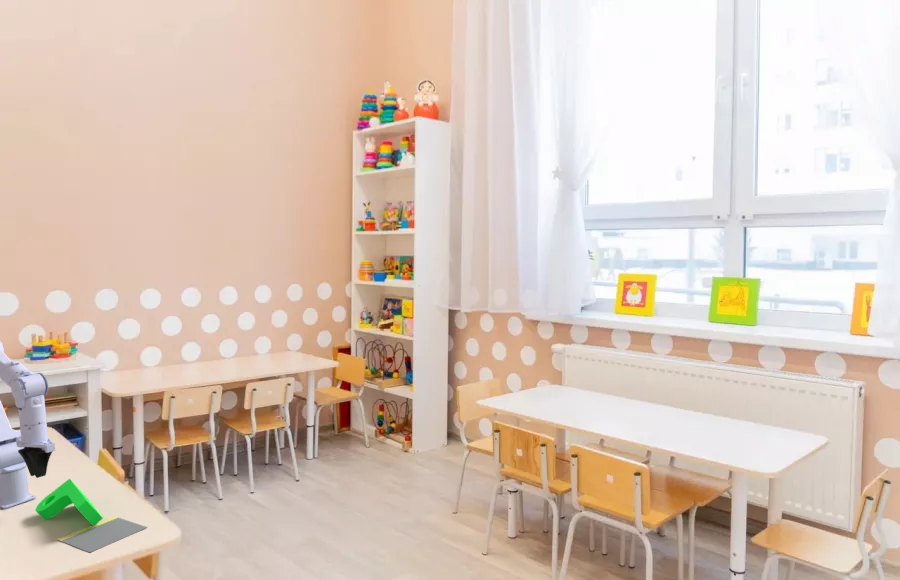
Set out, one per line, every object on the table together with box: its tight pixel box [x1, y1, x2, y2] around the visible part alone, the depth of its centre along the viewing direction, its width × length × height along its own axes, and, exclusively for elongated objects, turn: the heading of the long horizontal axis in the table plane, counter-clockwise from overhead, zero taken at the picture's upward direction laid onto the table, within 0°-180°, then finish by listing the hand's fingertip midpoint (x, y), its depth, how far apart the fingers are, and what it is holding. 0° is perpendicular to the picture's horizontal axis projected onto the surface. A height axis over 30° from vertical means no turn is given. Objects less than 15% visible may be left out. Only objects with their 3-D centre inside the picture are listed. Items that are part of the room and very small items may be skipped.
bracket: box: [35, 478, 104, 526], centre depth 167 cm, size 20×10×7 cm
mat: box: [57, 515, 148, 554], centre depth 160 cm, size 13×14×1 cm
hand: (38, 475), depth 173 cm, fingers closed
